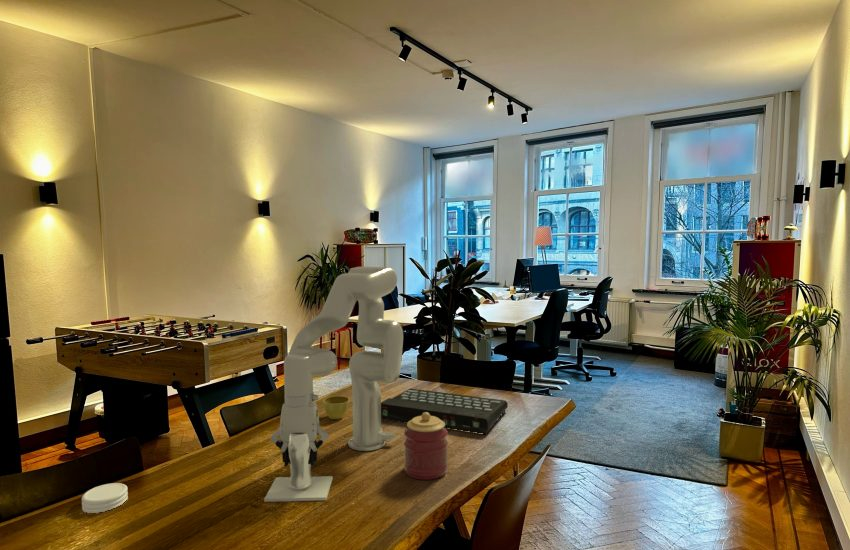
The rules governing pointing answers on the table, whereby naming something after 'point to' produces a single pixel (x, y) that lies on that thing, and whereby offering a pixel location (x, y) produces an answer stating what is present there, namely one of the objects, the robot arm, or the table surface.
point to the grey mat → (299, 490)
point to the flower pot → (336, 406)
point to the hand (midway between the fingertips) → (300, 463)
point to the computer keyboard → (445, 409)
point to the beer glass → (299, 460)
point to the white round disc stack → (104, 497)
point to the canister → (425, 447)
